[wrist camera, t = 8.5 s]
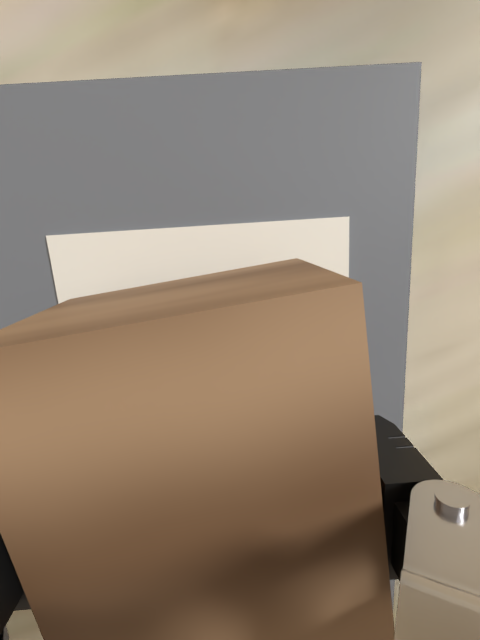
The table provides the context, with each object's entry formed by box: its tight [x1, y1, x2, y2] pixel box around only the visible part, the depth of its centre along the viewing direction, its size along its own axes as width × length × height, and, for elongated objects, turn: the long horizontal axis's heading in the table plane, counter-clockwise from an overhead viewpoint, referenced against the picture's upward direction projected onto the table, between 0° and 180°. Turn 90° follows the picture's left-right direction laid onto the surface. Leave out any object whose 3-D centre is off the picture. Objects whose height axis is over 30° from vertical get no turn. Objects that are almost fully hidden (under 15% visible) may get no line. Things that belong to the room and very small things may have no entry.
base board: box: [0, 62, 422, 610], centre depth 13 cm, size 20×13×2 cm, turn 4°
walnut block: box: [0, 258, 395, 640], centre depth 9 cm, size 9×6×5 cm
